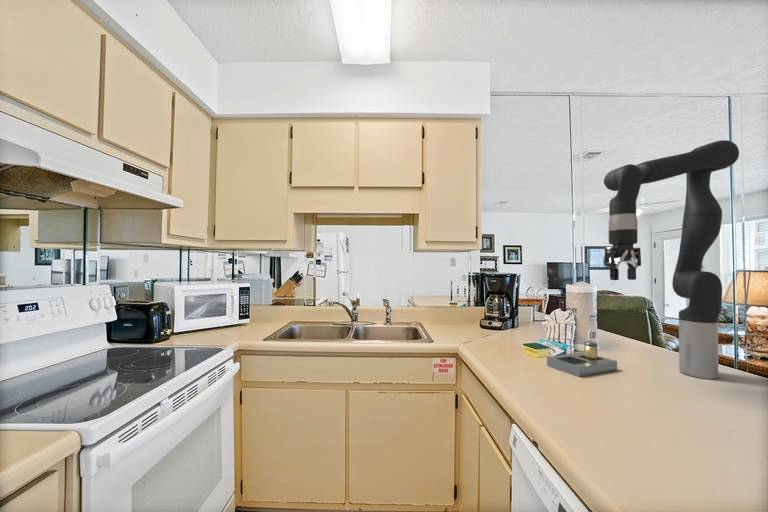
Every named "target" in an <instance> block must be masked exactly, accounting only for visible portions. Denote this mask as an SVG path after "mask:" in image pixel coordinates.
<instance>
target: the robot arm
mask: <svg viewBox="0 0 768 512" xmlns="http://www.w3.org/2000/svg"><path fill="white" fill-rule="evenodd" d="M739 155H740V150H739V147H738V146H737V144H736V143H734V142H733V141H731V140H725V139H722V140H716V141H712V142H709V143H706V144H703V145H701V146H698V147H696V148H694V149H692V150H691V151H688V152H685V153H680V154H674V155H670V156H669V155H668V156H665V157H660V158H655V159H650V160H647V161H644V162H640V163H638V164H632V163H628V164H625V165H623V166H620V167H617V168H615V169H612V170H611V171H608V173H607V174H606V175H605V177H604V178H603V184H604V186H605V188H606V189H608V190H610V191H612V192H613V191H614V192H617V193H616V195H615V196H614V197H612V198H611V199H610V200H609V207H608V208H609V209H608V210H609V211H608V212H609V215H608V216H609V218H608V244H609V245H612V246H605V247H604V256H603V257H604V259H603V260H604V261H603V262H604V263H603V264H604V266H605V267H608V268H609V279H610V280H611V281H619V277H620V275H619V274H620V273H619V267H620V264H623V263H624V264H625V265H626V266H627V270H626V271H627V280H630V281H635V280H637V268H638V267H641V266H642V257H641V255H642V252H641V247H634V245H635V244H637V243H638V240H639V239H638V238H639V237H638V218H637V199H638V197H639V194H640V190H641V186H642V185H645V184H651V183H656V182H658V181H659V182H660V181H664V180H668V179H671V178H674V177H677V176H681V175H684V174H685V175H686V176H685V177H686V178H685V180H686V186H685V188H686V190H685V191H686V192H685V203H684V211H683V217H682V224H681V227H682V228H681V237H680V243H679V250H678V257H677V260H676V264H675V270H674V272H673V275H672V281H671V284H672V285H671V286H672V289H673V291H674V293H675V294H676V295H677V296H678V297H680V298H683V299H688V300H689V301H688V305H687V307H686V308H683V309H681V310H679V311H678V366H679V367H678V369H679V373H682V374H684V375H687V376H691V377H694V378H701V379H706V380H707V379H708V380H709V379H710V380H711V379H713V380H714V379H715V380H716V379H719V377H720V376H719V372H720V371H719V322H718V321H719V320H718V319H719V317H720V315H721V312H722V307H723V305H722V303H723V284H722V281H721V279H720V278H719V276H718V275H717V273H716V274H715V273H714V272H712V271H704V270H703V271H702V268H703V262H704V258H705V255H706V253H707V252H708V250H709V249H710V248H711V247H712V245H713V244H714V243H715V241H716V239H717V238H718V236H719V234H720V231H721V228H722V221H723V220H722V219H723V210H722V206H721V205H720V203H719V202H718V200H717V199H716V197H715V196H714V194H713V193H712V190H711V186H710V184H711V175H712V173H713V172H716V171H721V170H725V169H727V168H729V167H731V166H732V165H734V164H735V163H737V161H738V159H739V157H740V156H739Z"/></svg>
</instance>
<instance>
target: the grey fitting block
mask: <svg viewBox="0 0 768 512" xmlns="http://www.w3.org/2000/svg"><path fill="white" fill-rule="evenodd" d="M546 366H547V367H549V368H553V369H556V370H559V371H561V372H564V373H567V374H570V375H573V376H576V377H585V376H591V375H596V374H602V373H609V372H614V371H615V372H617V371H618V361H617V360H616V359H611V358H606V357H603V356H599V355H598V360H594V361H592V360H588V359H585V358H584V351H581V352H574V353H573V352H572V353H568V354H559V355H552V356H547V357H546Z"/></svg>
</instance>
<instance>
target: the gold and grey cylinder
mask: <svg viewBox="0 0 768 512" xmlns="http://www.w3.org/2000/svg"><path fill="white" fill-rule="evenodd" d="M598 349H599V344H598V343H597V342H593V341H584V342H583V352H584V358H585V359H588V360H592V361H594V360H598V356H599V353H598V351H599V350H598Z"/></svg>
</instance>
